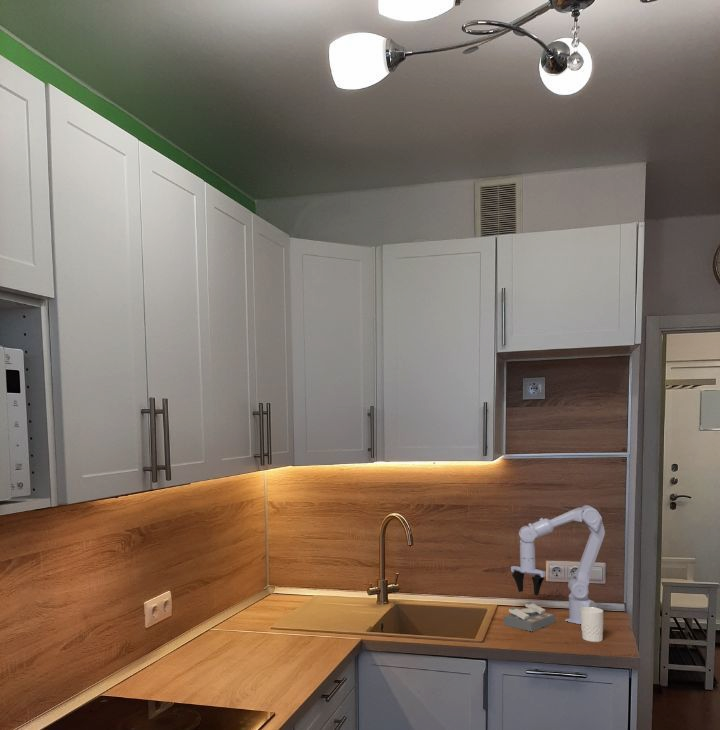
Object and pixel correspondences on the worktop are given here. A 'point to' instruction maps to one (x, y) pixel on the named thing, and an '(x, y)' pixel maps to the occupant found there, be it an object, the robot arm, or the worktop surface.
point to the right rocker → (531, 605)
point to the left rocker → (518, 613)
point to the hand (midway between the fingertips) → (528, 593)
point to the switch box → (530, 621)
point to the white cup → (591, 624)
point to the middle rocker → (528, 610)
